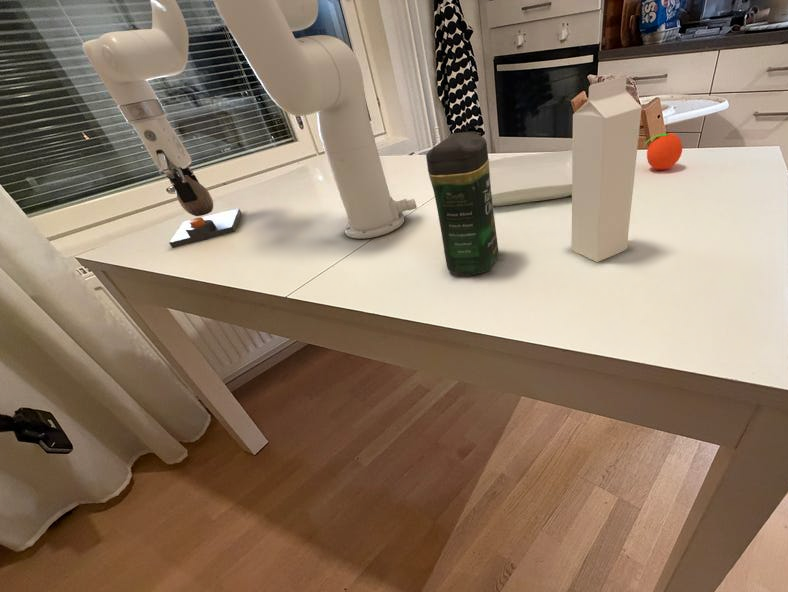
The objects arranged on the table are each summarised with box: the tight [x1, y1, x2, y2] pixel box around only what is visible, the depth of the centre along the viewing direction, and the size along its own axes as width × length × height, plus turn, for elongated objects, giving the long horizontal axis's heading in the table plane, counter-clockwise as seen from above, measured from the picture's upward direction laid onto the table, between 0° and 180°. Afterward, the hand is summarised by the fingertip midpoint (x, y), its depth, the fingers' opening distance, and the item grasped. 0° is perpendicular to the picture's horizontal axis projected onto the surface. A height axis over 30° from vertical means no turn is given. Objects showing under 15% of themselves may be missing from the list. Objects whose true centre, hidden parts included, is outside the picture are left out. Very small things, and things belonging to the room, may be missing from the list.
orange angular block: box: [188, 217, 206, 228], centre depth 92 cm, size 3×3×2 cm
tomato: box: [643, 132, 683, 171], centre depth 84 cm, size 8×7×7 cm
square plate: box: [489, 149, 573, 207], centre depth 88 cm, size 27×27×4 cm
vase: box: [175, 175, 214, 217], centre depth 96 cm, size 7×7×9 cm
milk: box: [570, 75, 643, 263], centre depth 55 cm, size 6×6×22 cm
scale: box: [168, 207, 243, 249], centre depth 98 cm, size 14×16×3 cm
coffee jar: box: [425, 131, 499, 276], centre depth 58 cm, size 10×8×19 cm
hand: (193, 196), depth 96 cm, fingers closed on vase, 6 cm apart
